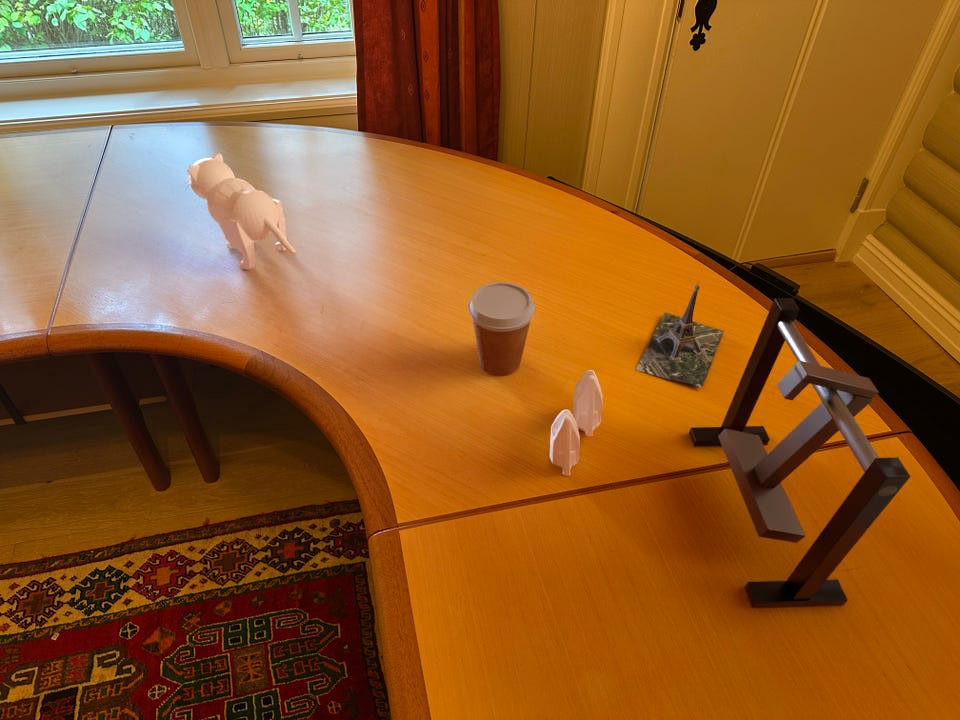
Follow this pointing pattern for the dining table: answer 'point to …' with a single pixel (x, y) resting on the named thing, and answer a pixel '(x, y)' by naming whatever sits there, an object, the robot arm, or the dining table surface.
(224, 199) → the cat figurine
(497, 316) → the disposable coffee cup
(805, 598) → the rack
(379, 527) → the dining table surface
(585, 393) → the shaker set
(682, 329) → the eiffel tower figurine
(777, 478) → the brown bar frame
